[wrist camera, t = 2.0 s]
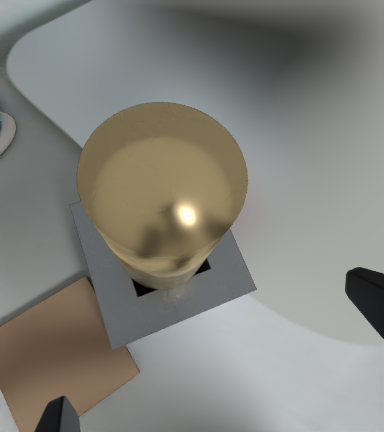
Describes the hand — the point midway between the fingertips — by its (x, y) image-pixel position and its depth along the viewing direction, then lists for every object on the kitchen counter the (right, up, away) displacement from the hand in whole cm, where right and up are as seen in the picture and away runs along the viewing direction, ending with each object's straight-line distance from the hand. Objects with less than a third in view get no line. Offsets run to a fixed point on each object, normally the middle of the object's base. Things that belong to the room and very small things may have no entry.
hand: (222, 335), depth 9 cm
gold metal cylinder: (-3, +1, +13) cm, 13 cm away
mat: (-9, -5, +10) cm, 14 cm away
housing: (-3, +1, +13) cm, 13 cm away
